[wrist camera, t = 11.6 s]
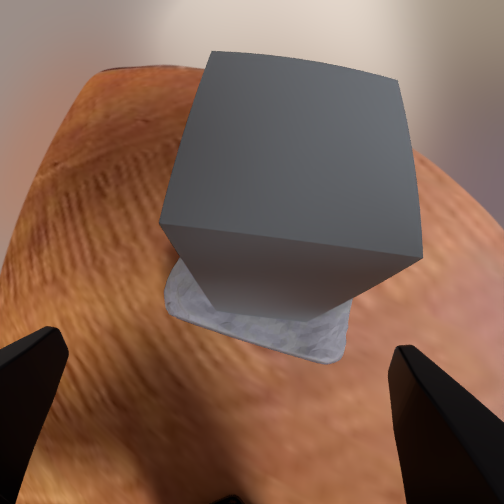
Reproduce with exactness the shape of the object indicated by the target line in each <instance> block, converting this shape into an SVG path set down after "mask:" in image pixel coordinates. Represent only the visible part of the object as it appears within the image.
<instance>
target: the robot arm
mask: <svg viewBox="0 0 504 504" xmlns="http://www.w3.org/2000/svg"><path fill="white" fill-rule="evenodd" d="M68 356H69V351H68V348H67V345H66V343H65V341H64V339H63V336H62V334H61V332H60V330H59V329H58V328H56V327H50V326H46V327H44V328H42V329H40V330H38V331H36V332H34V333H32V334H30V335H28V336H26V337H24V338H22V339H20V340H18V341H16V342H14V343H12V344H10V345H8V346H6V347H4V348H2V349H0V504H15V503H16V500H17V497H18V493H19V490H20V487H21V484H22V481H23V478H24V475H25V472H26V469H27V466H28V463H29V460H30V458H31V455H32V452H33V449H34V447H35V444H36V442H37V439H38V436H39V434H40V431H41V429H42V426H43V424H44V421H45V419H46V417H47V414H48V412H49V409H50V407H51V405H52V402H53V400H54V397H55V394H56V391H57V388H58V385H59V382H60V379H61V376H62V374H63V371H64V368H65V365H66V362H67V360H68ZM388 383H389V391H390V400H391V410H392V420H393V430H394V435H395V441H396V446H397V451H398V456H399V461H400V467H401V472H402V478H403V484H404V490H405V497H406V504H504V422H503V421H502V420H500V419H499V418H498V417H497V416H496V415H495V414H494V413H492V412H491V411H490V410H489V409H488V408H487V407H486V406H484V405H483V404H482V403H481V402H480V401H479V400H477V399H476V398H475V397H474V396H473V395H472V394H471V393H469V392H468V391H467V390H466V389H465V388H464V387H462V386H461V385H460V384H459V383H458V382H456V381H455V380H454V379H453V378H452V377H451V376H449V375H448V374H447V373H446V372H445V371H443V370H442V369H441V368H440V367H439V366H438V365H436V364H435V363H434V362H433V361H432V360H430V359H429V358H428V357H427V356H426V355H424V354H423V353H422V352H421V351H420V350H418V349H417V348H416V347H415V346H413V345H399V346H397V347H396V348H395V350H394V354H393V357H392V360H391V363H390V367H389V370H388ZM230 500H235V501H236V503H234V504H244V503H243V501H242V500H241V499H240V498H239V497H238V496H236V495H229V496H227V497H224V498H222V499H219V500H217V501H214V502H212V503H209V504H233V503H231V502H230Z"/></svg>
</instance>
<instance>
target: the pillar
mask: <svg viewBox="0 0 504 504" xmlns="http://www.w3.org/2000/svg"><path fill="white" fill-rule="evenodd" d="M159 224H160V226H161V228H162V229H163V231H164V232H165V234H166V236H167V237H168V239H169V240H170V242H171V243H172V245H173V247H174V248H175V250H176V251H177V253H178V254H179V256H180V257H181V259H182V261H183V262H184V264H185V265H186V267H187V268H188V270H189V271H190V273H191V274H192V276H193V277H194V279H195V280H196V282H197V283H198V285H199V286H200V288H201V289H202V291H203V292H204V294H205V295H206V297H207V298H208V300H209V301H210V303H211V304H212V305H213V307H214V308H215V310H216V311H219V312H226V313H233V314H240V315H248V316H256V317H264V318H272V319H281V320H290V321H299V322H308V321H310V320H312V319H314V318H316V317H318V316H320V315H322V314H324V313H326V312H328V311H329V310H331V309H333V308H335V307H337V306H339V305H341V304H343V303H345V302H347V301H348V300H350V299H352V298H354V297H356V296H358V295H360V294H361V293H363V292H365V291H367V290H369V289H371V288H372V287H374V286H376V285H378V284H379V283H381V282H383V281H385V280H387V279H388V278H390V277H392V276H393V275H395V274H397V273H399V272H400V271H402V270H404V269H405V268H407V267H409V266H411V265H412V264H414V263H416V262H417V261H419V260H421V259H422V258H423V246H422V230H421V217H420V206H419V196H418V187H417V179H416V172H415V165H414V158H413V152H412V146H411V140H410V135H409V129H408V125H407V119H406V114H405V110H404V106H403V101H402V97H401V92H400V88H399V84H398V81H397V80H395V79H391V78H388V77H384V76H380V75H376V74H372V73H368V72H364V71H360V70H356V69H351V68H347V67H342V66H337V65H332V64H327V63H321V62H315V61H309V60H303V59H296V58H289V57H281V56H273V55H264V54H252V53H240V52H222V51H212V52H211V54H210V57H209V60H208V62H207V65H206V68H205V70H204V73H203V76H202V79H201V82H200V84H199V87H198V90H197V93H196V96H195V99H194V102H193V105H192V108H191V111H190V114H189V117H188V120H187V123H186V127H185V130H184V133H183V136H182V139H181V143H180V146H179V149H178V153H177V156H176V160H175V163H174V167H173V170H172V174H171V178H170V181H169V185H168V189H167V192H166V196H165V200H164V204H163V208H162V212H161V216H160V220H159Z"/></svg>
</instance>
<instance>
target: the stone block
mask: <svg viewBox="0 0 504 504" xmlns="http://www.w3.org/2000/svg"><path fill="white" fill-rule="evenodd" d="M164 299H165V307H166V310H167V311H168V313H169V314H170V315H172V316H174V317H176V318H178V319H180V320H183V321H186V322H189V323H191V324H194V325H197V326H200V327H203V328H206V329H209V330H212V331H215V332H218V333H220V334H223V335H226V336H229V337H233V338H236V339H239V340H242V341H245V342H248V343H252V344H255V345H258V346H261V347H264V348H268V349H271V350H275V351H278V352H281V353H285V354H288V355H292V356H295V357H299V358H302V359H305V360H309V361H312V362H316V363H320V364H331V363H334V362H337V361H339V360H340V359H341V358H342V356H343V353H344V350H345V345H346V332H347V329H348V319H349V313H350V308H351V304H352V300H353V298H352V299H350V300H348V301H347V302H345V303H343V304H341V305H339V306H337V307H335V308H333V309H331V310H329V311H328V312H326V313H324V314H322V315H320V316H318V317H316V318H314V319H312V320H310V321H308V322H299V321H290V320H281V319H272V318H264V317H256V316H248V315H240V314H233V313H226V312H219V311H216V310H215V308H214V307H213V305H212V304H211V303H210V301H209V300H208V298H207V297H206V295H205V294H204V292H203V291H202V289H201V288H200V286H199V285H198V283H197V282H196V280H195V279H194V277H193V276H192V274H191V273H190V271H189V270H188V268H187V267H186V265H185V264H184V262H183V261H182V259H181V257H180V258H179V260H178V261H177V263H176V264H175V266H174V267H173V269H172V271H171V273H170V275H169V277H168V280H167V283H166V286H165V289H164Z"/></svg>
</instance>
